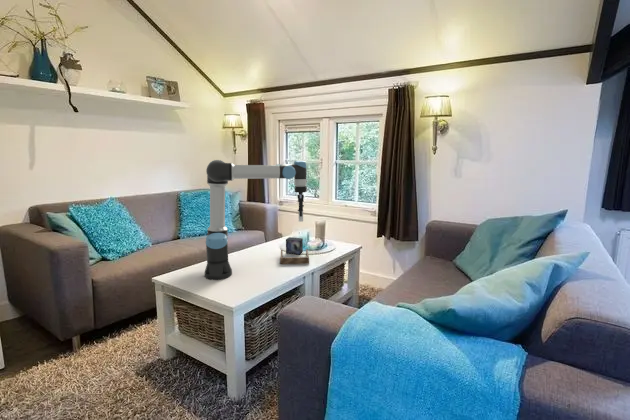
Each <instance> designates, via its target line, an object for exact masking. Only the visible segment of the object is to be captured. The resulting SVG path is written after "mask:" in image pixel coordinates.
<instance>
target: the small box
mask: <svg viewBox="0 0 630 420" xmlns="http://www.w3.org/2000/svg"><path fill="white" fill-rule="evenodd" d="M303 240H304V239H303V237H291V236H289V237H287V238H286V239H285V254H286V255H295V256H301V255H302V254H303V253H302V252H304V251H303V249H304V247H303V246H304V242H303ZM301 253H302V254H301Z"/></svg>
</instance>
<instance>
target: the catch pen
mask: <svg viewBox="0 0 630 420" xmlns="http://www.w3.org/2000/svg"><path fill="white" fill-rule="evenodd" d="M283 254H284V253H283V249H280V259H279V260H280V263H279V264H280V265H300V264H301V265H303V264H305V265H306V264H310V256H309V250H308V249H307V248H306V249H305V256H301V257H299V256H298V257H297V256H295V257H293V256H292V257H290V256H289V257H284V255H283Z"/></svg>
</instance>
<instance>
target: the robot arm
mask: <svg viewBox="0 0 630 420" xmlns="http://www.w3.org/2000/svg"><path fill="white" fill-rule="evenodd" d="M206 175H207V176H206V178H207V179H206V180H207V181H206V183H207V184H208V186H209V227H207V235H206V238H205V247H206V266H205V270H204V278H205V277H206V279H207V278H208V280H211V279H213V280H214V281H215V280H217V281H218V279H219V280H223V279H224V280H225V279H227V278H230V277H231V276H232V275H233V269H232V267H231V264H230V262H229V248H228V247H229V246H228V245H229V244H228V242H229V240H228V239H229V238H228V233H229V230H228V227H227V226H226V187H227V185H228V184H229V183H228V182H229V181H234V180H235V179H236V180H238V179H239V180H240V179H241V180H242V179H243V180H245V179H247V180H248V179H249V180H250V179H251V180H252V179H254V180H255V179H263V180H264V179H286V180H292V179H293V178H294V180H293V183H294V192H295V193H298V194H297V203H298V209H297V212H298V222H299V223H300V222H304V204H303V202H304V198H305V195H304V194H303V193H307V191H308V189H307V182H308V180H307V161H306V160H294V161H293V163H290V164H286V163H285V164H283V163H279V164H278V163H277V164H275V165H274V164H273V165H271V164H269V165H268V164H264V165H263V164H234V163H232V162H224V161H223V160H221V159H214V160H212V161H210V162H209V163H208V165H207V166H206Z"/></svg>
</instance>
